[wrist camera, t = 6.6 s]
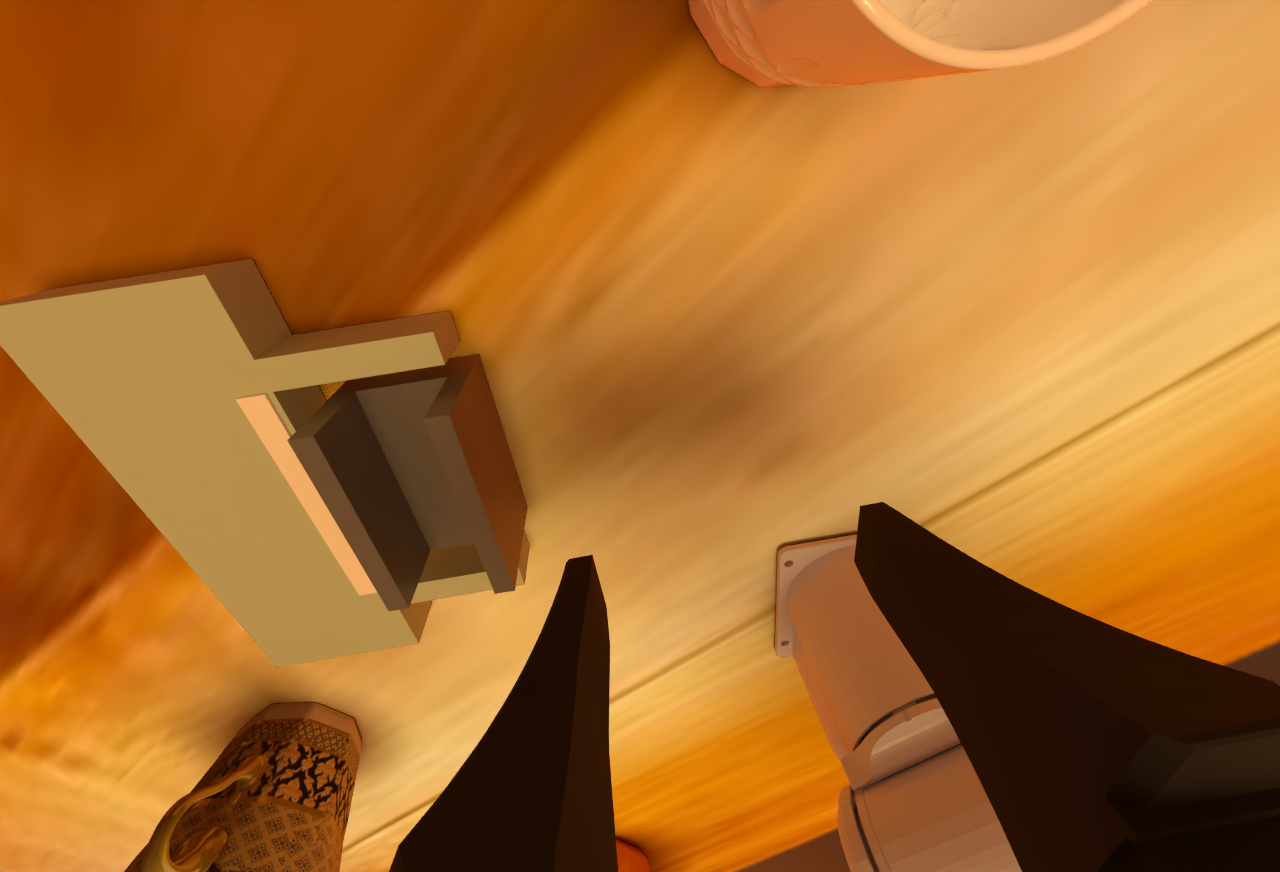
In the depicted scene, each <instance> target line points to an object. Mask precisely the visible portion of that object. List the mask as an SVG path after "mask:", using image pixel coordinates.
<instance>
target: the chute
mask: <svg viewBox="0 0 1280 872" xmlns="http://www.w3.org/2000/svg"><path fill="white" fill-rule="evenodd" d="M287 441H288V443H289V444H290V446H291V448H292V449H293V451H294V453H295V454H296V456H297V458H298V459H299V461H300V463H301V465H302V466H303V468H304V470H305V471H306V473H307V475H308V476H309V478H310V480H311V481H312V483H313V485H314V486H315V488H316V490H317V491H318V493H319V495H320V497H321V498H322V500H323V502H324V503H325V505H326V507H327V508H328V510H329V512H330V513H331V515H332V517H333V518H334V520H335V522H336V523H337V525H338V527H339V529H340V530H341V532H342V534H343V535H344V537H345V539H346V540H347V542H348V544H349V545H350V547H351V549H352V550H353V552H354V554H355V556H356V557H357V559H358V561H359V562H360V564H361V566H362V567H363V569H364V571H365V572H366V574H367V576H368V577H369V579H370V581H371V582H372V584H373V586H374V588H375V589H376V591H377V593H378V594H379V596H380V598H381V599H382V601H383V603H384V604H385V606H386V608H387V609H388V611H395V610H401V609H406V608H409V607H410V604H411V601H412V599H413V596H414V593H415V591H416V588H417V585H418V583H419V580H420V577H421V575H422V572H423V569H424V567H425V564H426V561H427V559H428V556H429V553H430V551H431V550H436V549H442V548H448V547H454V546H460V545H467V544H473V543H474V544H475V547H476V549H477V551H478V554H479V556H480V559H481V561H482V564H483V566H484V569H485V571H486V573H487V576H488V578H489V581H490V583H491V586H492V588H493V591H494V593H495V594H496V593H502V592H508V591H514V590H515V587H516V580H517V573H518V567H519V560H520V553H521V547H522V540H523V533H524V527H525V520H526V513H527V504H526V501H525V497H524V494H523V491H522V488H521V485H520V482H519V478H518V475H517V472H516V469H515V466H514V462H513V459H512V456H511V453H510V450H509V447H508V443H507V440H506V437H505V434H504V431H503V428H502V424H501V421H500V418H499V415H498V412H497V409H496V405H495V402H494V399H493V396H492V393H491V390H490V386H489V383H488V380H487V377H486V374H485V371H484V367H483V364H482V361H481V358H480V355H479V354H474V355H468V356H461V357H455V358H449V359H448V361H447V362H446V364H445V365H440V366H434V367H427V368H421V369H415V370H409V371H402V372H396V373H390V374H383V375H377V376H371V377H364V378H358V379H352V380H347V381H346V382H345V383H344V384H343V385H342V386H341V387H340V388H339V389H338V390H337V391H336V392H335V393H334V394H333V395H332V396H331V397H330V398H329V399H328V400H327V401H326V402H325V403H324V404H323V405H322V406H321V407H320V408H319V409H318V410H317V411H316V412H315V413H314V414H313V415H312V416H311V417H310V418H309V419H308V420H307V421H306V422H305V423H304V424H303V425H302V426H301V427H300V428H299V429H298V430H297V431H296V432H295V433H294V434H293V435H292V436H291V437H290V438H289V439H288V440H287Z"/></svg>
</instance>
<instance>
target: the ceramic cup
mask: <svg viewBox="0 0 1280 872" xmlns="http://www.w3.org/2000/svg"><path fill="white" fill-rule="evenodd" d="M361 748H362V743H361V738H360V735H359V732H358V729H357V727H356V724H355V721H354V719H353V718H352V717H350V716H347V715H345V714H342V713H340V712H337V711H335V710H333V709H330V708H328V707H325V706H323V705H320V704H318V703H315V702H306V703H283V704H271V705H270V706H269V707H267V708H266V709H265V710H263V711H262V712H261V713H260V714H258V715H257V716H256V717H255V718H253V719H252V720H251V721H250V722H248V723H247V724H246V725H245V726H244V727H242V729H241V730H240V731H239V732H238V733H237V735H236V736H235V737H234V738H233V740H232V741H231V742H230V743H229V744H228V746H227V747H226V748H225V750H224V751H223V752H222V753H221V755H220V756H219V757H218V759H217V760H216V761H215V763H214V764H213V765H212V766H211V767H210V769H209V770H208V771H207V772H206V774H205V775H204V776H203V777H202V779H201V780H200V781H199V782H198V784H197V785H196V786H195V787H194V789H193V790H192V791H191V792H190V793H189V794H187V795H186V796H184V797H182V798H181V799H180V800H178V801H177V802H176V803H175V804H174V805H173V806H172V807H171V808H170V809H169V810H168V811H167V812H166V814H165V815H164V816H163V818H162V819H161V821H160V822H159V824H158V825H157V827H156V829H155V831H154V833H153V835H152V837H151V839H150V841H149V843H148V844H147V845H146V846H145V847H144V848H143V850H142V851H141V852H140V853H139V854H138V855H137V856H136V858H135V859H134V860H133V861H132V863H131V864H130V865H129V866H128V867H127V869H126V870H125V871H124V872H339V871H340V863H341V855H342V847H343V840H344V835H345V831H346V826H347V822H348V817H349V811H350V806H351V801H352V796H353V790H354V785H355V779H356V774H357V770H358V765H359V759H360V754H361Z"/></svg>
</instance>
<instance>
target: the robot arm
mask: <svg viewBox="0 0 1280 872" xmlns="http://www.w3.org/2000/svg"><path fill="white" fill-rule="evenodd" d="M786 561H788V562H786ZM775 651H776V654H777V656H778V657H789V656H793V657H794V659H795V662H796V664H797V666H798V669H799V671H800V674H801V676H802V678H803V681H804V683H805V686H806V688H807V690H808V693H809V695H810V698H811V700H812V702H813V705H814V707H815V710H816V712H817V714H818V717H819V719H820V722H821V724H822V726H823V729H824V731H825V734H826V736H827V739H828V741H829V743H830V745H831V747H832V749H833V750H834V752H835V754H836V755H837V756H838V758H839V759H840V760H841V763H842V765H843V768H844V770H845V773H846V775H847V777H848V780H849V782H850V785H847V786H845V787H843V788H842V789H841V791H840V793H839V801H838V802H839V808H838V815H837V820H838V829H839V834H840V839H841V843H842V846H843V850H844V853H845V856H846V859H847V862H848V865H849V868H850V871H851V872H1280V686H1278V685H1277V684H1276V683H1274V682H1273V681H1270V680H1267V679H1264V678H1261V677H1258V676H1254V675H1251V674H1248V673H1245V672H1242V671H1238V670H1235V669H1232V668H1229V667H1226V666H1222V665H1219V664H1216V663H1213V662H1210V661H1207V660H1203V659H1200V658H1197V657H1194V656H1191V655H1188V654H1185V653H1183V652H1180V651H1177V650H1174V649H1171V648H1169V647H1166V646H1163V645H1160V644H1157V643H1155V642H1152V641H1149V640H1146V639H1144V638H1141V637H1139V636H1136V635H1133V634H1131V633H1128V632H1125V631H1123V630H1120V629H1118V628H1115V627H1113V626H1111V625H1108V624H1106V623H1103V622H1101V621H1099V620H1096V619H1094V618H1091V617H1089V616H1087V615H1084V614H1082V613H1080V612H1077V611H1075V610H1073V609H1071V608H1068V607H1066V606H1064V605H1062V604H1059V603H1057V602H1055V601H1053V600H1051V599H1049V598H1047V597H1045V596H1043V595H1041V594H1039V593H1037V592H1035V591H1033V590H1030V589H1028V588H1026V587H1024V586H1022V585H1021V584H1019V583H1017V582H1015V581H1013V580H1011V579H1009V578H1007V577H1005V576H1004V575H1002V574H1000V573H998V572H996V571H994V570H993V569H991V568H989V567H987V566H985V565H984V564H982V563H980V562H978V561H977V560H975V559H973V558H972V557H970V556H968V555H966V554H965V553H963V552H961V551H960V550H958V549H956V548H955V547H953V546H952V545H950V544H948V543H947V542H945V541H943V540H942V539H940V538H939V537H937V536H935V535H934V534H932V533H931V532H929V531H928V530H926V529H925V528H923V527H921V526H920V525H918V524H917V523H915V522H914V521H912V520H911V519H909V518H907V517H906V516H904V515H903V514H901V513H900V512H898V511H897V510H895V509H893V508H892V507H890V506H889V505H887V504H885V503H884V502H880V503H875V504H869V505H864V506H860V513H859V522H858V531H857V534H856V535H850V536H844V537H838V538H832V539H826V540H820V541H815V542H809V543H803V544H797V545H791V546H786V547H783V548H782V549H780V551H779V552H778V563H777V596H776V629H775ZM609 677H610V640H609V629H608V618H607V608H606V603H605V600H604V596H603V592H602V589H601V585H600V581H599V578H598V574H597V571H596V567H595V563H594V560H593V556H592V555H589V556H583V557H578V558H572V559H569V560H568V561H567V563H566V566H565V569H564V573H563V576H562V579H561V582H560V585H559V588H558V591H557V594H556V596H555V599H554V602H553V604H552V607H551V609H550V612H549V614H548V617H547V619H546V621H545V624H544V626H543V629H542V631H541V633H540V635H539V638H538V640H537V642H536V644H535V646H534V648H533V650H532V652H531V654H530V656H529V658H528V661H527V663H526V665H525V667H524V668H523V670H522V672H521V674H520V676H519V678H518V680H517V682H516V683H515V685H514V687H513V689H512V690H511V692H510V694H509V696H508V697H507V699H506V701H505V703H504V704H503V706H502V707H501V709H500V711H499V712H498V714H497V715H496V717H495V719H494V720H493V722H492V723H491V725H490V727H489V728H488V730H487V731H486V733H485V734H484V736H483V737H482V739H481V740H480V742H479V743H478V745H477V746H476V748H475V749H474V750H473V752H472V753H471V754H470V756H469V757H468V759H467V760H466V761H465V763H464V764H463V765H462V767H461V768H460V769H459V771H458V772H457V774H456V775H455V776H454V778H453V779H452V780H451V782H450V783H449V785H448V786H447V787H446V788H445V790H444V791H443V792H442V794H441V795H440V796H439V797H438V799H437V800H436V801H435V802H434V803H433V805H432V806H431V807H430V808H429V810H428V811H427V812H426V813H425V814H424V816H423V817H422V818H421V819H420V820H419V822H418V823H417V824H416V825H415V827H414V828H413V829H412V830H411V831H410V833H409V834H408V835H407V836H406V837H405V839H404V840H403V841H402V842H401V843H400V845H399V846H398V849H397V852H396V854H395V857H394V860H393V863H392V865H391V868H390V870H389V872H618V860H617V849H616V837H615V824H614V812H613V799H612V786H611V771H610V757H609Z"/></svg>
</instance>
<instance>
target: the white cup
mask: <svg viewBox="0 0 1280 872" xmlns="http://www.w3.org/2000/svg"><path fill="white" fill-rule="evenodd" d="M1151 1H1152V0H688V3H689V9H690V15H691V17H692V19H693V20H694V22H695V24H696V25H697V27H698V29H699V30H700V32H701V34H702V35H703V37H704V38H705V40H706V42H707V43H708V45H709V47H710V48H711V50H712V52H713V53H714V55H715V57H716V58H717V60H718V62H719V63H720V64H722V65H724V66H725V67H727V68H729V69H730V70H732V71H734V72H735V73H737V74H739V75H740V76H742V77H744V78H745V79H747V80H749V81H750V82H752V83H754V84H756V85H757V86H759V87H772V86H802V87H807V88H822V87H841V86H850V85H871V84H879V83H887V82H895V81H903V80H911V79H920V78H928V77H936V76H945V75H953V74H962V73H971V72H980V71H989V70H998V69H1007V68H1013V67H1019V66H1024V65H1028V64H1033V63H1036V62H1040V61H1043V60H1046V59H1049V58H1052V57H1055V56H1058V55H1060V54H1063V53H1065V52H1068V51H1070V50H1072V49H1075V48H1077V47H1079V46H1081V45H1083V44H1085V43H1087V42H1089V41H1091V40H1093V39H1095V38H1097V37H1098V36H1100V35H1102V34H1104V33H1105V32H1107V31H1109V30H1111V29H1112V28H1114V27H1115V26H1117V25H1119V24H1120V23H1122V22H1123V21H1125V20H1126V19H1128V18H1129V17H1131V16H1132V15H1133V14H1135V13H1136V12H1138V11H1139V10H1140V9H1142V8H1143V7H1145V6H1146V5H1147V4H1148V3H1150V2H1151Z"/></svg>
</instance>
